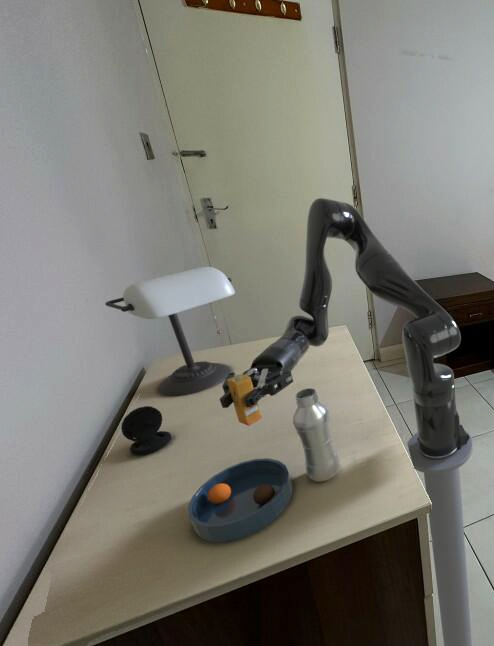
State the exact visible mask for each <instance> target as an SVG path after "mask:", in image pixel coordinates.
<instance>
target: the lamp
mask: <svg viewBox="0 0 494 646" xmlns="http://www.w3.org/2000/svg"><path fill="white" fill-rule="evenodd" d="M235 294H236V290H235V288H234V287H233V285H232V278H231V277H227V276H226V275H225V273H224V272H222V271H220V270H219V269H217V268H216V267H213V266H201V267H196V268H192V269H189V270H184V271H180V272H175V273H172V274H166V275H163V276H159V277H154V278H151V279H146V280H143V281H139V282H136V283H133V284H130V285H128V286H126V288H125V289H124V290H123V293H122V297H119V298H115V299H111V300H108V301H106V302H105V306H106V307H109V308H113V309H117V310H119V311H121V312H122V313H126V312H127V313H128V314H130V315H132V316H136V317H138V318H141V319H145V320H155V319H162V318H164V317H168V319H169V321H170V324H171V328H172V330H173V333H174V335H175V338H176V341H177V343H178V346H179V349H180V351H181V354H182V357H183V359H184V362H185V364H184V365H182V366H180V367H178V368H177V369H175V370H174V371H173V372H172V373H171V374H170V375H169V376H167V377H166V378H165V379H164V380H163V381H161V383H160V385H158V392H159V393H160V394H161V395H163V396H168V397H169V396H170V397H178V396H185V395H190V394H191V395H192V394H195V393H198V392H201V391H205V390H207V389H210V388H212V387H214V386H216V385H218V384H220V383H221V382H224V381H225V380H226V378H227V376H228V374H229V373H231V368H230V367H229V366H228V365H226V364H222V363H218V362H209V361H196V362H195V361H194V358H193V355H192V352H191V350H190V347H189V343H188V342H187V339H186V336H185V333H184V330H183V328H182V324H181V322H180V319H179V317H178V313H181V312H184V311H187V310H191V309H195V308H197V307H200V306H204V305H207V304H209V306H210V309H211V312H212V315H213V318H214V322H215V325H216V328H217V331H216V333H217V334H218V335H220V334H222V333H223V332H222V330H221V329H220V327H219V324H218V322H217V321H218V320H217V317H216V314H215V312H214V309H213V306H212V303H213V302H217V301H219V300H222V299H226V298H229V297H231V296H234V295H235ZM122 302H124V305H119V304H117V303H122Z"/></svg>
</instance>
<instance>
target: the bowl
mask: <svg viewBox="0 0 494 646" xmlns="http://www.w3.org/2000/svg"><path fill="white" fill-rule="evenodd" d="M221 483H223V484H227V485H228V486H229V487H230V489H231V494H230V496H229V498H228V499H227V500H226V501H225V502H223V503H220V504H214V503H212V502H210V501H209V499H208V493H209V491H210V489H211V488H212V487H213V486H215V485H217V484H221ZM264 484H268V485H271V486H272V487H273V488H274V490H275V495H274V497H273V498H272V499H271V500H270V501H269V502H268V503H266V504H265V505H259V504H257V503H255V501H254V499H253V494H254V491H255V490H256V489H257V488H258V487H259V486H261V485H264ZM292 495H293V483H292V479H291V475H290V472H289V470H288V467H287V466H286V464H284V463H283V462H281V461H280V460H277V459H273V458H270V457H269V458H267V457H266V458H265V457H264V458H253V459H249V460H245V461H241V462H238V463H236V464H235V465H231V466H229V467H226V468H225V469H223V470H222V471H219V472H218V473H217V474H214V475H213V476H211V477H210V478H209V479H208V480H207V481H205V482H204V483H203V484H202V485H201V486H200V487H199V488H198V489H197V490H196V492H195V493H194V494H193V495H192V497H191V499H190V502H189V504H188V506H187V512H188V518H189V521H190V523H191V525H192V527H193V529H194V532H195V533H196V534H197V535H198V536H199V538H200V539H202V540H204V541H207V542H210V543H218V544H219V543H228V542H234V541H238V540H240V539H244V538H246V537H249V536H251V535H253V534H256V533H257V532H259V531H261V530H262V529H264V528H266V527H267V526H268V525H270V524H271V523H272V522H273V521H274V520H276V519H277V518H278V517H279V516H280V515H281V514H282V512H284V510H285V509H286V508H287V507H288V505H289V503H290V501H291V498H292Z"/></svg>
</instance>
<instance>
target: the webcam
mask: <svg viewBox="0 0 494 646" xmlns="http://www.w3.org/2000/svg"><path fill="white" fill-rule="evenodd" d="M162 424H163V414H162V413H161V411H160V410H159V409H158V408H156V407H154V406H151V405H149V406H148V405H145V406H139V407H137V408H135V409H133V410H132V411H130V412H129V413H128V414H127V415H126V416H125V417H124V419H123V420H122V423H121V426H120V427H121V429H120V430H121V434H122V435H123V437H124V438H125V439H127V440H129V441H132V442H133V443H132V444H131V446H130V448H129V450H130V453H131V454H132V455H135V456H146V455H149V454H153V453H155V452H157V451H159V450H161V449H163V448H164V447H166V446H167V445H168V444H170V442H171V440H172V434H171V433H170V432H169V431H166V430H165V431H164V430H160V428H161V426H162ZM142 445H147V446H148V447H145V448H140V447H141V446H142Z"/></svg>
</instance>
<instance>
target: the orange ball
mask: <svg viewBox="0 0 494 646" xmlns="http://www.w3.org/2000/svg"><path fill="white" fill-rule="evenodd" d="M230 494H231V489H230V487H229V486H228V485H227V484H223V483H221V484H217V485H215V486H213V487H212V488H211V489H210V491H209V493H208V499H209V501H210V502H212V503H214V504H220V503H223V502H225V501H226V500H227V499H228V498H229V496H230Z"/></svg>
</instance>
